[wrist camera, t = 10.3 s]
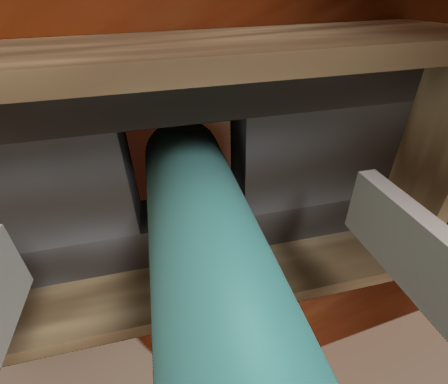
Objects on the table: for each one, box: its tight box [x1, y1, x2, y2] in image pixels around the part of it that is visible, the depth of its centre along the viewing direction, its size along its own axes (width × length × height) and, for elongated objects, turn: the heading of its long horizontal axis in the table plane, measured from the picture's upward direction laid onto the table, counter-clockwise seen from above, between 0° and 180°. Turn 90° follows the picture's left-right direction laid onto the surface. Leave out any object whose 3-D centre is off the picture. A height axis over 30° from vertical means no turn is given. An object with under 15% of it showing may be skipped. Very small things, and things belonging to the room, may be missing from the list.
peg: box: [146, 124, 339, 384], centre depth 11 cm, size 4×4×14 cm
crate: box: [0, 19, 448, 367], centre depth 14 cm, size 12×24×6 cm, turn 92°
